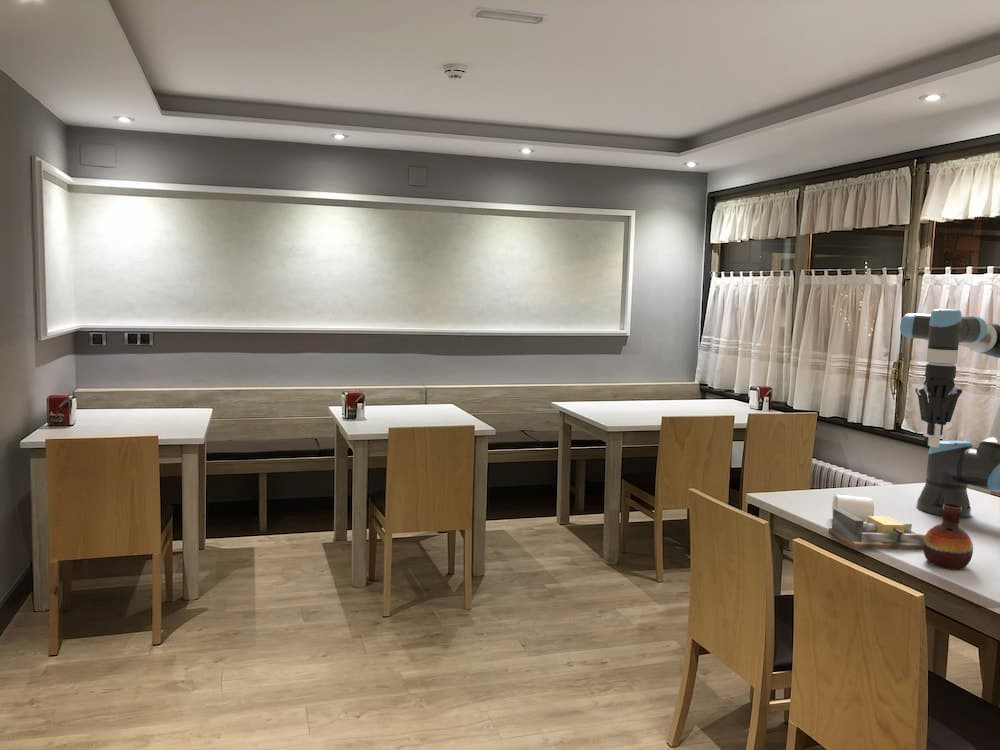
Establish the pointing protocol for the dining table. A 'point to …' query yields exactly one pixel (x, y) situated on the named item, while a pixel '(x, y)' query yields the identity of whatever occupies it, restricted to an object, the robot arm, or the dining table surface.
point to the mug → (854, 506)
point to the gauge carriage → (883, 526)
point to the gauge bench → (871, 534)
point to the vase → (948, 541)
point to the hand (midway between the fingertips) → (933, 446)
